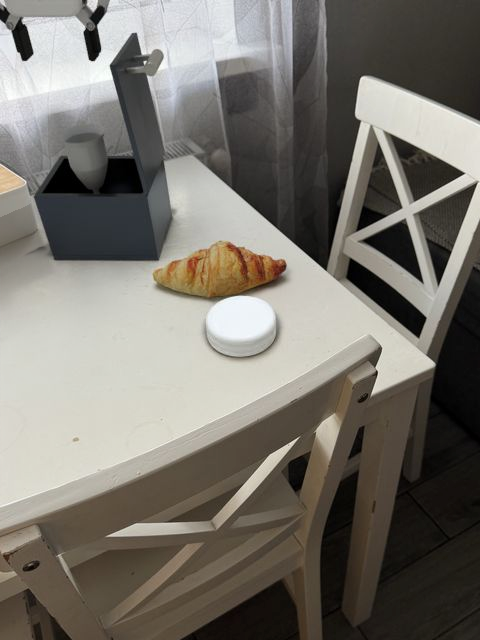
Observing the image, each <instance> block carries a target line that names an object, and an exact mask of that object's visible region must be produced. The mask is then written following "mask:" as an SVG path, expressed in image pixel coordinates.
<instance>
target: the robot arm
mask: <svg viewBox="0 0 480 640" xmlns="http://www.w3.org/2000/svg"><path fill="white" fill-rule="evenodd" d="M110 1H111V0H97V4H96V8H95V9H94V11H93V10H92V9H91V8H90V7H89V6H88V0H3V2H4V4H2V2H0V21H1V22H2V23H3V24H4V25H5V27H6V29H7V30H8V31H11V35H12V39H13V42H14V47H15V50H16V52H17V53H18V54H19V55H20V59H21V61H22V62H28V61H29V60H30V59H31V58H32V56H34V54H35V52H34V48H33V44H32V40H31V36H30V33H29V29H28V26H27V24H25V23H23V20H24V18H71V17H76V18H77V20H78V21H79V22H80V23H81V24H82V25H83V26H84V30H83V38H84V44H85V49H86V53H87V57H88V61H90V62H95V61H96V60H97V59H98V58H99V56H100V54H101V52H102V43H101V38H100V32H99V28H98V25H99V24H100V22H101V21H102V19H103V18H104V16H105V15H106V14H107V12H108V7H109V4H110Z"/></svg>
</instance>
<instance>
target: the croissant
mask: <svg viewBox="0 0 480 640" xmlns="http://www.w3.org/2000/svg"><path fill="white" fill-rule="evenodd" d="M287 266H288V265H287V262H286V260H285V259H283V258H280V259H273V258H272V256H270V255H266V254H257V253H255V252H253V251H251V250H250V249H246V248H245V246H237V245H235V244H233V242H231V241H227V240H218V241H216V242H215V243H213V244H211V245H210V247H209V248H203V249H201V248H200V249H198V250H195V251H194V252H191V253H190V254H189V255H188V256H187V257H184V258H182V259H178V260H177V259H176V260H172V261H171V262H169V263H168V264H166V265H165V266H164V267H163V268H162V267H161V268H158V269H155V270H153V272H152V278H153V281H154V282H156V283H157V284H159V285H162V286H163V287H166V288H169V289H171V290H173V291H175V292H178V293H180V292H181V293H183V294H188V295H193V296H199V297H203V298H206V299H212V298H214V297H217V296H219V297H226V296H231V295H236V294H241V293H242V292H243V293H244V292H245V291H247V290H250V289H253V288H255V287H258V286H261V285H263V284H267V283H270V282H272V281H274V280H275V279H276V278H278V277H279V276H280V275H282V274H283V273H284V272H285V271H286V270H287Z"/></svg>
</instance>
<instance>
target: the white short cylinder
mask: <svg viewBox="0 0 480 640" xmlns="http://www.w3.org/2000/svg"><path fill="white" fill-rule="evenodd" d="M205 328H206V337H207V340H208V342H209V344H210V346H211V347H212V348H213V349H215V350H216V351H217V352H218V353H221V354H223V355H226V356H229V357H237V358H238V357H243V358H244V357H249V356H251V357H252V356H254V355H257V354H259V353H262V352H263V351H265V350H267V349H268V348H269V347H270V346H271V345H272V344H273V342H274V341H275V338H276V336H277V315H276V312H275V310H274V308H273V307H272V306H271V304H269V303H268V302H267V301H265V300H263V299H261V298H258V297H255V296H250V295H234V296H230V297H227V298H224V299H221V300H220V301H218V302H217V303H215V304H213V305H212V307H210V309H208V311H207V314H206V317H205Z"/></svg>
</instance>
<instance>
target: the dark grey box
mask: <svg viewBox="0 0 480 640" xmlns="http://www.w3.org/2000/svg"><path fill="white" fill-rule="evenodd" d="M107 157H108V165H107V172H106V176H105V180H104V184H103V186H102V187H100V188H99V192H100V194H94V192H93V190H92V189H88V188H87V187H86V186H85V185H84V184H83V183H82V182H81V181H80V180H79V178H78V177H77V176H76V174H75V173H74V171H73V170H72V168H71V167H70V163H69V160H68V156H67V155H60V156H59V157H58V158H57V160H56V162H55V163H54V164H53V166H52V168H51V169H50V171H49V173H48V174H47V175H46V177H45V178H44V180H43V181H42V183H41V185H40V186H39V188H38V189H37V190H36V192H35V193H34V195H33V199H34V202H35V206H36V208H37V211H38V215H39V218H40V221H41V223H42V226H43V227H42V228H43V230H44V233H45V237H46V240H47V242H48V245H49V248H50V251H51V255H52V257H53V260H54V261H128V262H129V261H130V262H131V261H135V262H139V261H141V262H158V261H160V258H161V254H162V251H163V247H164V245H165V242H166V238H167V236H168V232H169V229H170V225H171V222H172V219H173V211H172V205H171V200H170V199H171V198H170V192H169V191H170V190H169V186H168V179H167V172H166V167H165V159H164V158H163V159H162V161H161V164H160V166H159V169H158V172H157V174H156V177H155V180H154V182H153V185H152V187H151V190H150V193H149V194H144V191H143V187H142V184H141V180H140V176H139V173H138V169H137V165H136V162H135V158H134V155H107Z"/></svg>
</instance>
